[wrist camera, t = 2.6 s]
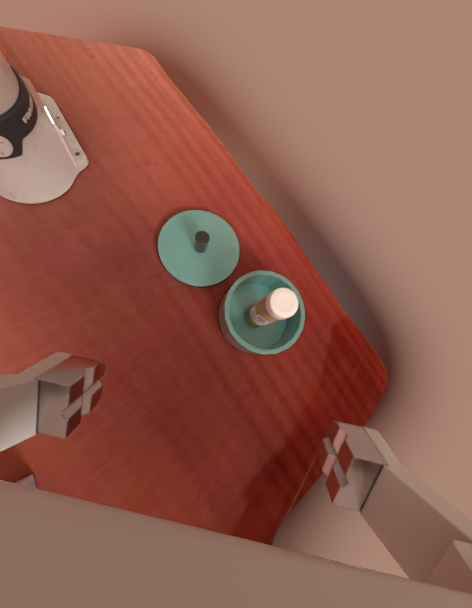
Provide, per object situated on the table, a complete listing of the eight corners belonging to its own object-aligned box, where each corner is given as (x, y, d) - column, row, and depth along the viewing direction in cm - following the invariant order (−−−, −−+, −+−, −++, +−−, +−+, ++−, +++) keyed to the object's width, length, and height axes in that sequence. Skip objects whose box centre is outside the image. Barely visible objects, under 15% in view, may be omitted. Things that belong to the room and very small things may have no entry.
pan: (207, 292, 46) (212, 283, 40) (273, 272, 51) (287, 261, 45) (233, 365, 45) (242, 367, 39) (299, 339, 49) (316, 336, 43)
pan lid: (147, 221, 46) (144, 205, 41) (223, 206, 51) (228, 190, 46) (172, 297, 45) (172, 290, 40) (248, 275, 49) (257, 266, 44)
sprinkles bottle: (241, 322, 47) (265, 310, 34) (248, 301, 48) (275, 281, 35) (262, 331, 47) (294, 322, 34) (269, 309, 48) (303, 293, 36)
